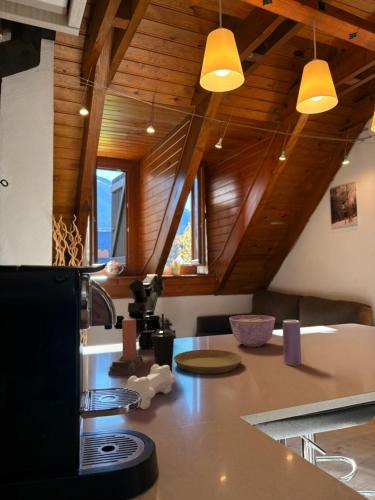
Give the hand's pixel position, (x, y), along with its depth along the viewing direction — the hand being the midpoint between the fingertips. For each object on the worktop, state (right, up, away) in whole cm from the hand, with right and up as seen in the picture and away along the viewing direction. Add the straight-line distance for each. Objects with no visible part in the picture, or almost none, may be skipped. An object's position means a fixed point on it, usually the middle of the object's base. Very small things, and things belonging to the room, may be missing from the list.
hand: (133, 340), depth 140 cm
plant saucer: (+28, -7, -9) cm, 30 cm away
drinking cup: (+13, -7, -20) cm, 25 cm away
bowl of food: (+49, -8, +23) cm, 55 cm away
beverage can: (+57, -6, -9) cm, 58 cm away
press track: (-1, -7, -9) cm, 12 cm away
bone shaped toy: (+11, -6, -40) cm, 42 cm away
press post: (0, -6, -5) cm, 8 cm away
